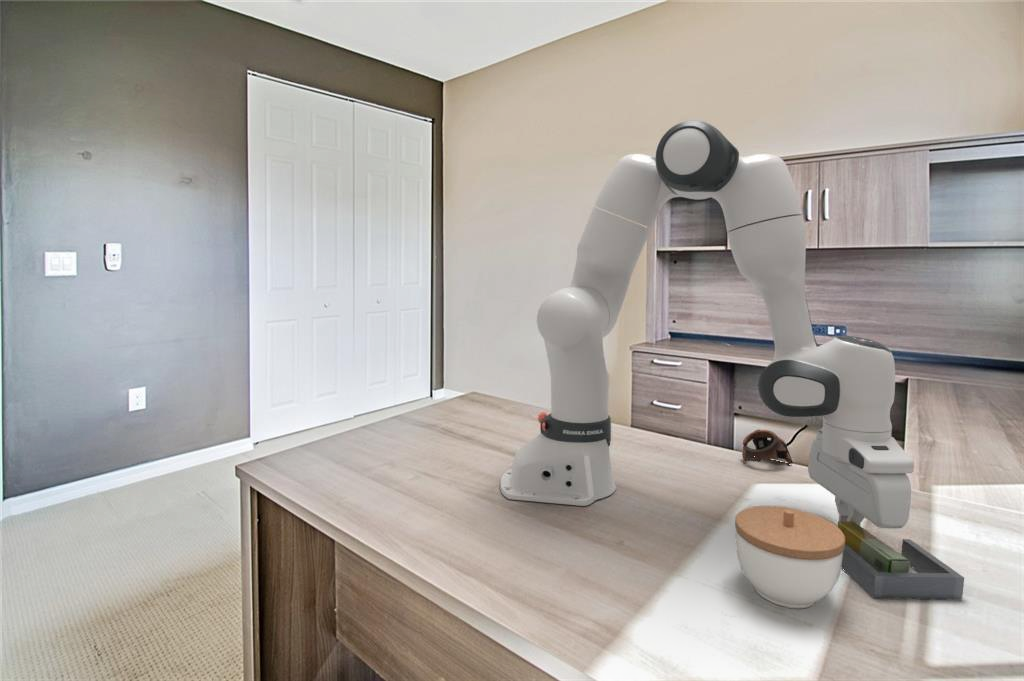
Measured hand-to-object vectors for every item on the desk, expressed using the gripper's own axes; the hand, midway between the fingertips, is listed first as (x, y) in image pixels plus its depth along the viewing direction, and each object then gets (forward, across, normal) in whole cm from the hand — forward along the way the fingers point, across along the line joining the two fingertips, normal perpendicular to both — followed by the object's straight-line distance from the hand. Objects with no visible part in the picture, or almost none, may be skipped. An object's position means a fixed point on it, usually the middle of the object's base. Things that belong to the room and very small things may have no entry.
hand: (848, 528), depth 85 cm
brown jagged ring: (+2, -35, +2) cm, 35 cm away
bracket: (+2, +11, 0) cm, 11 cm away
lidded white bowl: (+2, +14, -16) cm, 22 cm away
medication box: (+2, +8, -2) cm, 8 cm away
